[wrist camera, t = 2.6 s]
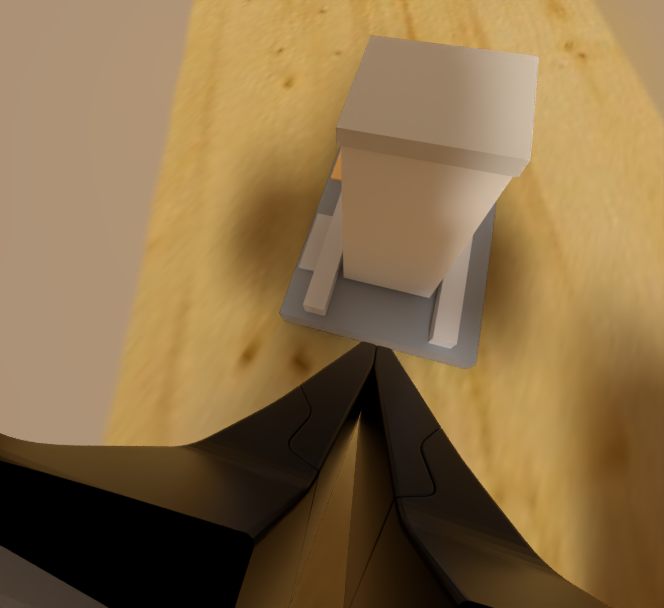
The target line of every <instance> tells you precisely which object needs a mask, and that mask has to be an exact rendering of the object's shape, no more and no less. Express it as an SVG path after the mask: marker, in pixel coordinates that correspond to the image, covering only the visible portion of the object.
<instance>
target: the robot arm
mask: <svg viewBox="0 0 664 608" xmlns="http://www.w3.org/2000/svg"><path fill="white" fill-rule="evenodd" d="M360 412H361V413H360ZM359 416H360V418H359ZM358 419H359V427H358V439H357V451H356V463H355V475H354V487H353V499H352V511H351V523H350V535H349V547H348V559H347V571H346V583H345V595H344V607H343V608H611V607H609V606H608V605H606V604H605V603H603V602H601V601H600V600H598V599H596V598H595V597H593V596H591V595H590V594H588V593H586V592H585V591H583V590H582V589H580V588H578V587H577V586H575V585H573V584H572V583H570V582H569V581H567V580H566V579H564V578H563V577H562V576H561V575H559V574H558V573H557V572H555V571H554V570H553V569H552V568H551V567H550V566H549V565H547V564H546V563H545V562H544V561H543V560H542V559H541V558H540V557H539V556H538V555H537V554H536V553H535V551H534V550H533V549H532V548H531V547H530V546H529V544H528V543H527V542H526V541H525V540H524V538H523V537H522V536H521V534H520V533H519V532H518V531H517V529H516V528H515V527H514V526H513V524H512V523H511V522H510V520H509V519H508V518H507V517H506V515H505V514H504V513H503V511H502V510H501V509H500V508H499V506H498V505H497V504H496V502H495V501H494V500H493V499H492V497H491V496H490V495H489V493H488V492H487V491H486V490H485V488H484V487H483V486H482V484H481V483H480V482H479V481H478V479H477V478H476V477H475V475H474V474H473V473H472V471H471V470H470V469H469V467H468V466H467V465H466V463H465V462H464V461H463V459H462V458H461V456H460V455H459V453H458V452H457V450H456V449H455V447H454V446H453V444H452V443H451V442H450V440H449V438H448V437H447V435H446V434H445V432H444V431H443V429H441V426H440V425H439V423H438V421H437V420H436V418H435V417H434V415H433V414H432V412H431V410H430V409H429V407H428V406H427V404H426V403H425V401H424V400H423V398H422V396H421V395H420V393H419V392H418V390H417V389H416V387H415V385H414V384H413V382H412V381H411V379H410V378H409V376H408V374H407V373H406V371H405V370H404V368H403V367H402V365H401V363H400V362H399V360H398V359H397V357H396V356H395V354H394V352H393V351H392V349H390V348H388V347H384V346H380V345H378V346H377V347H376V345H375V344H373V343H369V342H365V341H363V342H361V343H360V344H358V345H357V346H355V347H354V348H352V349H351V350H350V351H348V352H347V353H345V354H344V355H342V356H341V357H340V358H338V359H337V360H335V361H334V362H332V363H331V364H329V365H328V366H327V367H325V368H324V369H322V370H321V371H319V372H318V373H317V374H315V375H314V376H312V377H311V378H309V379H308V380H307V381H305V382H304V383H302V384H301V385H300V386H298V387H296V388H295V389H293V390H292V391H291V392H289V393H288V394H286V395H285V396H283V397H281V398H280V399H278V400H277V401H275V402H273V403H272V404H270V405H268V406H266V407H265V408H263V409H261V410H259V411H257V412H255V413H254V414H252V415H250V416H248V417H246V418H244V419H242V420H240V421H238V422H236V423H234V424H232V425H230V426H229V427H227V428H225V429H223V430H221V431H219V432H217V433H215V434H213V435H211V436H209V437H207V438H205V439H203V440H200V441H197V442H195V443H191V444H188V445H183V446H172V447H167V446H74V445H54V444H44V443H35V442H29V441H24V440H20V439H16V438H12V437H9V436H6V435H3V434H1V433H0V608H289V605H290V603H291V601H292V598H293V595H294V593H295V590H296V587H297V585H298V582H299V579H300V576H301V574H302V571H303V568H304V566H305V563H306V560H307V558H308V555H309V552H310V549H311V547H312V544H313V541H314V539H315V536H316V533H317V531H318V528H319V525H320V522H321V520H322V517H323V514H324V512H325V509H326V506H327V504H328V501H329V498H330V496H331V493H332V490H333V487H334V485H335V482H336V479H337V477H338V474H339V471H340V469H341V466H342V463H343V460H344V458H345V455H346V452H347V450H348V447H349V444H350V442H351V439H352V436H353V434H354V431H355V428H356V425H357V422H358Z"/></svg>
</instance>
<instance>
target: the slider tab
mask: <svg viewBox="0 0 664 608" xmlns="http://www.w3.org/2000/svg"><path fill="white" fill-rule="evenodd" d="M538 63H539V56H534V55H526V54H518V53H509V52H501V51H493V50H485V49H477V48H469V47H461V46H453V45H445V44H437V43H429V42H421V41H413V40H405V39H397V38H389V37H381V36H373V35H371V36H370V39H369V42H368V44H367V47H366V50H365V52H364V55H363V58H362V60H361V63H360V65H359V68H358V71H357V73H356V76H355V79H354V81H353V84H352V87H351V89H350V92H349V94H348V97H347V100H346V102H345V105H344V108H343V110H342V113H341V115H340V118H339V121H338V123H337V126H336V141H337V145H338V146H341V178H342V226H343V273H344V278H347V279H351V280H356V281H360V282H364V283H368V284H372V285H376V286H381V287H385V288H389V289H393V290H397V291H402V292H406V293H410V294H414V295H418V296H422V297H427V298H430V296H431V295H432V294H433V292H434V291H435V289H436V288H437V286H438V285H439V283H440V282H441V280H442V279H443V278H444V276H445V275H446V273H447V272H448V270H449V269H450V267H451V266H452V264H453V263H454V262H455V260H456V259H457V257H458V256H459V254H460V253H461V251H462V250H463V248H464V247H465V246H466V244H467V243H468V241H469V240H470V238H471V237H472V235H473V234H474V232H475V231H476V230H477V228H478V227H479V225H480V224H481V222H482V221H483V219H484V218H485V216H486V215H487V214H488V212H489V211H490V209H491V208H492V206H493V205H494V203H495V202H496V201H497V199H498V198H499V196H500V195H501V193H502V192H503V190H504V189H505V187H506V186H507V185H508V183H509V182H510V180H511V179H512V177H519V176H520V174H521V173H522V171H523V170H524V169H525V167H526V166H527V164H528V163H529V162H530V160H531V148H532V136H533V123H534V111H535V99H536V87H537V75H538Z"/></svg>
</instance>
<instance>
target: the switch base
mask: <svg viewBox="0 0 664 608" xmlns="http://www.w3.org/2000/svg"><path fill="white" fill-rule="evenodd" d="M495 209H496V202H495V203H494V205H493V206H492V208H491V209H490V211H489V212H488V214H487V215H486V216H485V218H484V219H483V221H482V222H481V224H480V225H479V227H478V228H477V230H476V231H475V232H474V234H473V235H472V237H471V238H470V240H469V241H468V243H467V244H466V246H465V247H464V248H463V250H462V251H461V253H460V254H459V256H458V257H457V259H456V260H455V262H454V263H453V264H452V266H451V267H450V269H449V270H448V272H447V273H446V275H445V276H444V278H443V279H442V280H441V282H440V283H439V285H438V286H437V288H436V289H435V291H434V292H433V294H432V295H431V296H430V298H427V297H422V296H418V295H414V294H410V293H406V292H402V291H397V290H393V289H389V288H385V287H381V286H376V285H372V284H368V283H364V282H360V281H356V280H351V279H347V278H344V273H343V226H342V178H341V146H340V147H339V150H338V153H337V156H336V158H335V161H334V164H333V167H332V169H331V172H330V175H329V178H328V180H327V183H326V186H325V189H324V191H323V194H322V197H321V200H320V202H319V205H318V208H317V211H316V213H315V216H314V219H313V222H312V224H311V227H310V230H309V233H308V235H307V238H306V241H305V244H304V246H303V249H302V252H301V255H300V257H299V260H298V263H297V266H296V268H295V271H294V274H293V277H292V279H291V282H290V285H289V288H288V290H287V293H286V296H285V299H284V301H283V304H282V307H281V310H280V312H279V313H280V315H281V316H282V318H283V319H284V321H287V322H291V323H295V324H298V325H302V326H306V327H310V328H313V329H317V330H321V331H325V332H328V333H332V334H336V335H340V336H343V337H347V338H351V339H355V340H358V341H362V342H363V341H365V342H369V343H373V344H375V345H377V346H378V345H380V346H384V347H388V348H390V349H392V350H396V351H400V352H403V353H407V354H411V355H415V356H418V357H422V358H426V359H430V360H433V361H437V362H441V363H445V364H448V365H452V366H456V367H460V368H463V369H467V368H470V367H472V366H474V365H476V362H477V354H478V346H479V338H480V330H481V322H482V314H483V306H484V298H485V290H486V281H487V273H488V265H489V257H490V249H491V241H492V233H493V225H494V217H495Z"/></svg>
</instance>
